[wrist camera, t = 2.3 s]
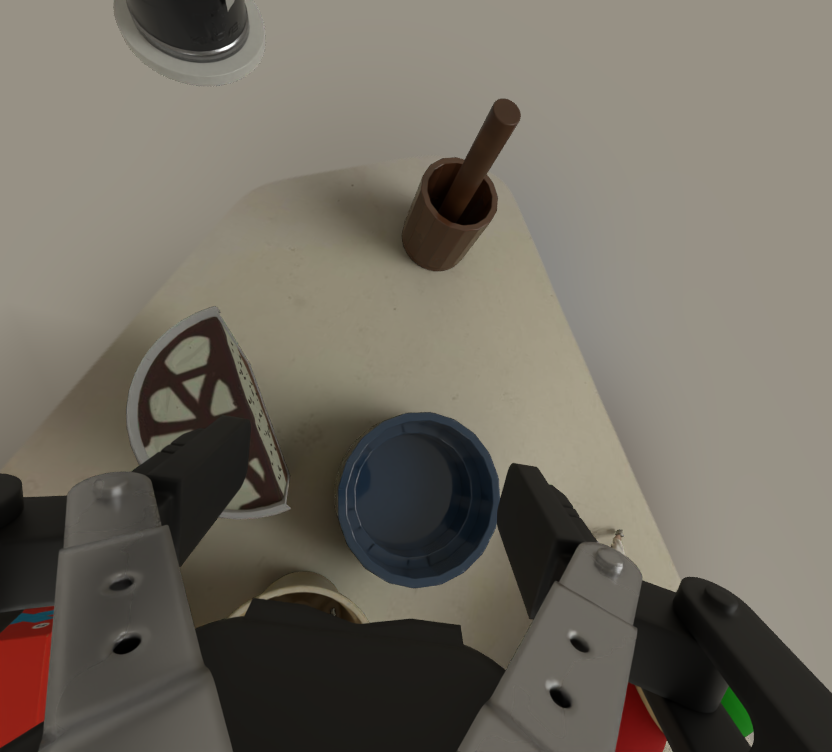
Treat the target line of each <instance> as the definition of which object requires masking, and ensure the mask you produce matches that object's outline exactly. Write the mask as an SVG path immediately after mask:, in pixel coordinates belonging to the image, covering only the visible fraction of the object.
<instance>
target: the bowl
mask: <svg viewBox="0 0 832 752" xmlns="http://www.w3.org/2000/svg"><path fill="white" fill-rule="evenodd" d="M499 502H500V489H499V478H498V475H497V472H496V469H495V467H494V464H493V461H492V459H491V456H490V454H489V452H488V451H487V449H486V448H485V447H484V445H483V444H482V443H481V441H480V440H479V439H478V438H477V436H476V435H475V434H474V433H473V432H472V431H470V430H469V429H467V428H466V427H464V426H463V425H462V424H460V423H459V422H457V421H456V420H454V419H452V418H448V417H445V416H442V415H439V414H436V413H431V412H420V413H405V414H402V415H399V416H397V417H394V418H391V419H388V420H385V421H383V422H381V423H378V424H376V425H374V426H372V427H371V428H370V429H369V430H367V431H366V432H365V433H363V434H362V435H361V436H360V437H358V438H357V439H356V440H355V441H354V443H353V444H352V446H351V447H350V448H349V450H348V451H347V453H346V454H345V456H344V457H343V459H342V461H341V464H340V467H339V470H338V474H337V477H336V480H335V511H336V514H337V517H338V520H339V523H340V526H341V529H342V532H343V535H344V538H345V541H346V543H347V545H348V547H349V548H350V550H351V551H352V552H353V554H354V555H355V556H356V558H357V559H358V560H359V561H360V563H361V564H362V565H363V567H365V569H367V570H369V571H370V572H372V573H373V574H375V575H376V576H378V577H379V578H381V579H383V580H384V581H386V582H388V583H391V584H395V585H400V586H405V587H409V588H422V587H429V586H436V585H440V584H443V583H445V582H447V581H449V580H451V579H453V578H455V577H457V576H458V575H460V574H462V573H464V572H465V571H466V570H467V569H468V568H469V567H470V566H471V565H472V564H473V563H474V562H475V561H476V560H477V559H478V558H479V557H480V556H481V555H482V554H483V552H484V550H485V549H486V547H487V545H488V543H489V541H490V539H491V537H492V535H493V533H494V531H495V529H496V525H497V510H498V505H499Z"/></svg>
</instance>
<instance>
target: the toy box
mask: <svg viewBox="0 0 832 752" xmlns="http://www.w3.org/2000/svg"><path fill="white" fill-rule="evenodd" d="M53 614H54V606H48V607H40V608H32V609H25V610H24V611H23V612H22V613H21V614H20V615H19V616H18V617H17V618H16V619H15V620H14V621H13V622H12V623H11V624H10V625H9V626H7V627H6V628H5V629H4V630H3V631H2V632H1V633H0V748H1V747H2V746H4V745H6V744H7V743H9V742H11V741H12V740H14V739H15V738H17V737H19V736H20V735H22V734H23V733H25V732H27V731H28V730H30V729H31V728H33V727H35V726H36V725H38V724H39V723H41V722H43V721H44V719H45V707H46V695H47V684H48V672H49V661H50V649H51V637H52V626H53Z"/></svg>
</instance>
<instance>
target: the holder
mask: <svg viewBox="0 0 832 752" xmlns="http://www.w3.org/2000/svg"><path fill="white" fill-rule="evenodd" d="M463 162H464V160H463V159H460V158H456V157H454V158H442V159H440V160H438V161H437V162H435V163H433V164H431V165H430V166H429V167H428V169H427V170H426V172H425V173H424V175H423V177H422V179H421V182H420V184H419V187H418V189H417V192H416V194H415V197H414V200H413V202H412V205H411V207H410V210H409V212H408V215H407V217H406V220H405V223H404V227H403V230H402V242H403V245H404V248H405V250H406V252H407V254H408V255H409V257H410V258H411V259H412V260H413V261H414V262H415V263H417V264H418V265H419V266H421V267H423V268H425V269H428V270H432V271H444V270H448V269H451V268H452V267H454V266H455V265H457V264H458V263H459V262H460V261H461V260H462V259H463V257H464V256H465V255H466V253H467V252H468V251H469V249H470V248H471V247H472V246H473V244H474V243H475V242H476V240H477V239H478V238H479V236H480V235H481V234H482V233H483V231H484V230H485V229H486V227H487V226H488V225H489V223H490V222H491V220H492V219H493V217H494V215H495V213H496V212H497V201H498V196H497V193H496V190H495V187H494V184H493V182H492V181H491V179H490V178H489V177H488V175H487V174H486V176H485V177H484V179H483V181H482V182H481V184H480V186H479V187H478V189H477V190H476V192H475V194H474V195H473V197H472V198H471V200H470V202H469V203H468V205H467V206H466V208H465V210H464V211H463V213H462V214H461V216H460V218H459V219H458V221H457V223H453V222H450V221H449V220H447V219H446V218H444V217H443V216H441V215H440V214H439V213H438V211H439V209H440V207H441V205H442V203H443V201H444V199H445V197H446V195H447V193H448V191H449V189H450V187H451V185H452V183H453V182H454V180H455V178H456V176H457V174H458V172H459V170H460V168H461V166H462V164H463Z"/></svg>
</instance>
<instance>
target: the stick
mask: <svg viewBox="0 0 832 752" xmlns="http://www.w3.org/2000/svg"><path fill="white" fill-rule="evenodd" d="M520 117H521V114H520V110H519V108H518V107H517V105H516V104H515V103H513V102H512V101H510V100H508V99H499V100H497V101H495V102H494V104H493V106H492V108H491V110H490V112H489V114H488V116H487V118H486V120H485V121H484V123H483V126H482V127H481V129H480V131H479V133H478V135H477V137H476V139H475V141H474V143H473V145H472V147H471V149H470V151H469V153H468V154H467V156H466V159H465V160H464V162H463V164H462V166H461V168H460V170H459V172H458V174H457V176H456V178H455V180H454V182H453V183H452V185H451V187H450V189H449V191H448V193H447V195H446V197H445V199H444V201H443V203H442V205H441V207H440V209H439V211H438V213H439V214H440V215H441V216H443V217H444V218H446V219H447V220H449V221H450V222H453V223H457V221H458V219H459V218H460V216H461V214H462V213H463V211H464V210H465V208H466V206H467V205H468V203H469V202H470V200H471V198H472V197H473V195H474V194H475V192H476V190H477V189H478V187H479V186H480V184H481V182H482V181H483V179H484V177H485V176H486V174H487V173H488V171H489V169H490V168H491V166H492V165H493V163H494V161H495V160H496V158H497V157H498V154H499V153H500V151H501V150H502V148H503V147H504V145H505V144H506V142H507V140H508V139H509V137H510V136H511V134H512V132H513V131H514V129H515V128H516V126H517V124H518V123H519V121H520Z"/></svg>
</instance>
